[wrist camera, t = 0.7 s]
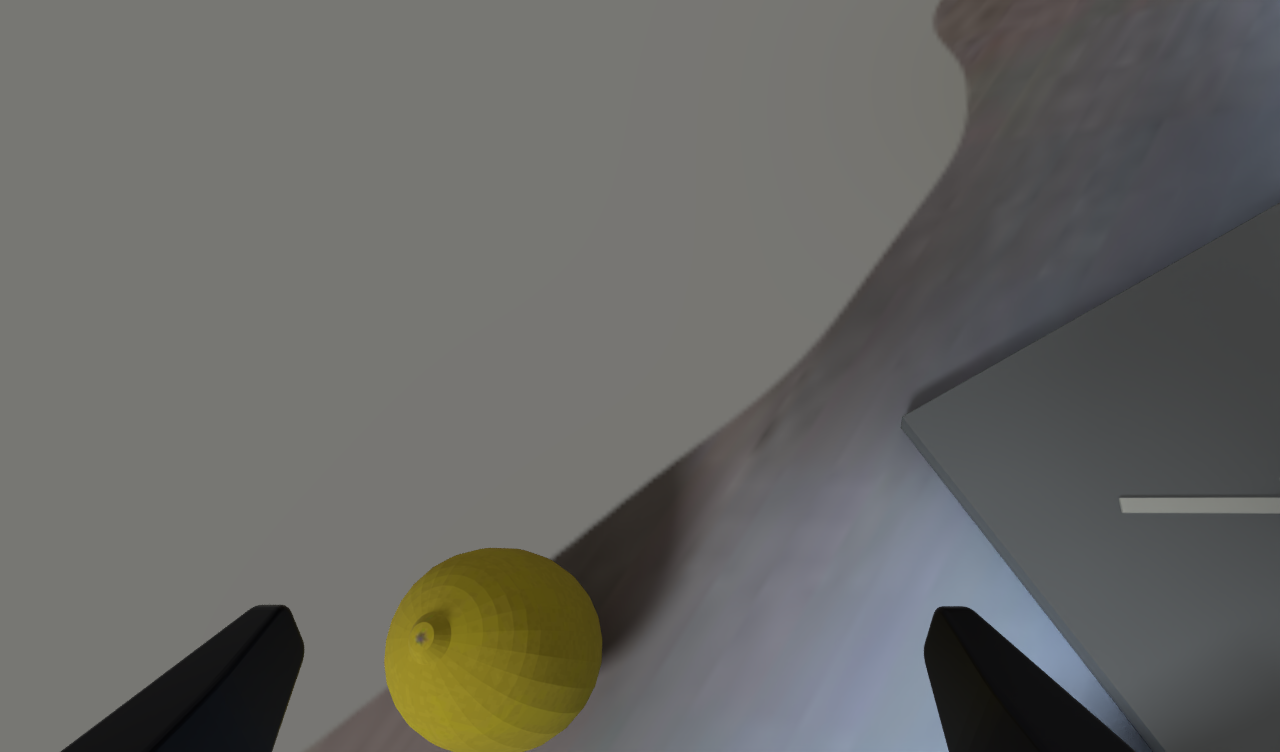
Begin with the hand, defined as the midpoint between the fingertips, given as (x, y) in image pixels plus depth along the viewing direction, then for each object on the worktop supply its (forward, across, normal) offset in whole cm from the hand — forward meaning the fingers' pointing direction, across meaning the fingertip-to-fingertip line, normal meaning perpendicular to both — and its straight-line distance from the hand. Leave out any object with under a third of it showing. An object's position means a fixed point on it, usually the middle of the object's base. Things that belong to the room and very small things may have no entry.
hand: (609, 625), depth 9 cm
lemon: (+8, +3, +12) cm, 15 cm away
